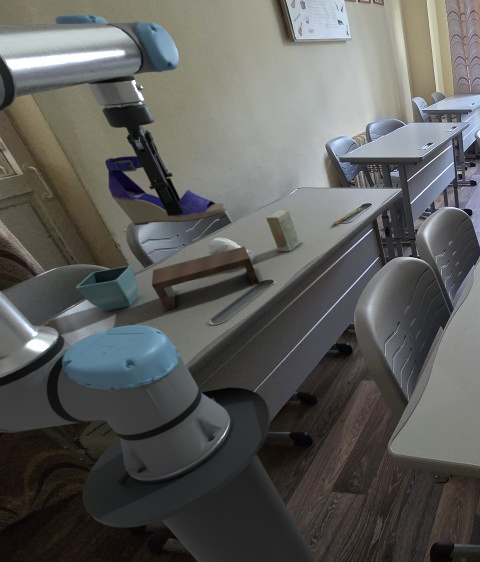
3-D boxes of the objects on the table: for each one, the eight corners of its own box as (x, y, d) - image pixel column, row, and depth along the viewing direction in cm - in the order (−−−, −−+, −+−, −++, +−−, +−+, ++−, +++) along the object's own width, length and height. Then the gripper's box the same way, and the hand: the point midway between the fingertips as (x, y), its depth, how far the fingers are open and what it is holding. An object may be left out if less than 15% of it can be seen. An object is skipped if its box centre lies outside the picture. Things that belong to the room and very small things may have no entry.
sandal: (218, 219, 94) (189, 154, 86) (124, 229, 91) (85, 163, 83) (230, 206, 101) (205, 146, 93) (143, 216, 98) (109, 154, 90)
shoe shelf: (166, 310, 104) (151, 284, 100) (167, 294, 111) (153, 269, 107) (259, 282, 115) (249, 258, 110) (254, 269, 122) (244, 246, 118)
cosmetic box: (289, 243, 138) (277, 209, 131) (300, 243, 137) (289, 209, 131) (277, 251, 132) (264, 217, 126) (289, 252, 132) (277, 217, 125)
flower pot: (94, 317, 103) (73, 287, 98) (110, 299, 110) (92, 271, 106) (134, 309, 105) (116, 280, 101) (147, 293, 112) (131, 265, 108)
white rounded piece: (217, 233, 124) (254, 236, 124) (225, 257, 129) (261, 260, 128) (202, 242, 119) (241, 245, 118) (212, 267, 123) (249, 270, 123)
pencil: (333, 227, 148) (361, 210, 163) (332, 224, 148) (361, 207, 162) (330, 227, 149) (358, 210, 163) (329, 224, 148) (358, 207, 163)
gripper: (143, 107, 77) (195, 217, 89) (148, 99, 91) (193, 195, 103) (93, 112, 74) (154, 226, 86) (106, 103, 88) (158, 202, 100)
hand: (175, 209), depth 95 cm, fingers closed on sandal, 7 cm apart
